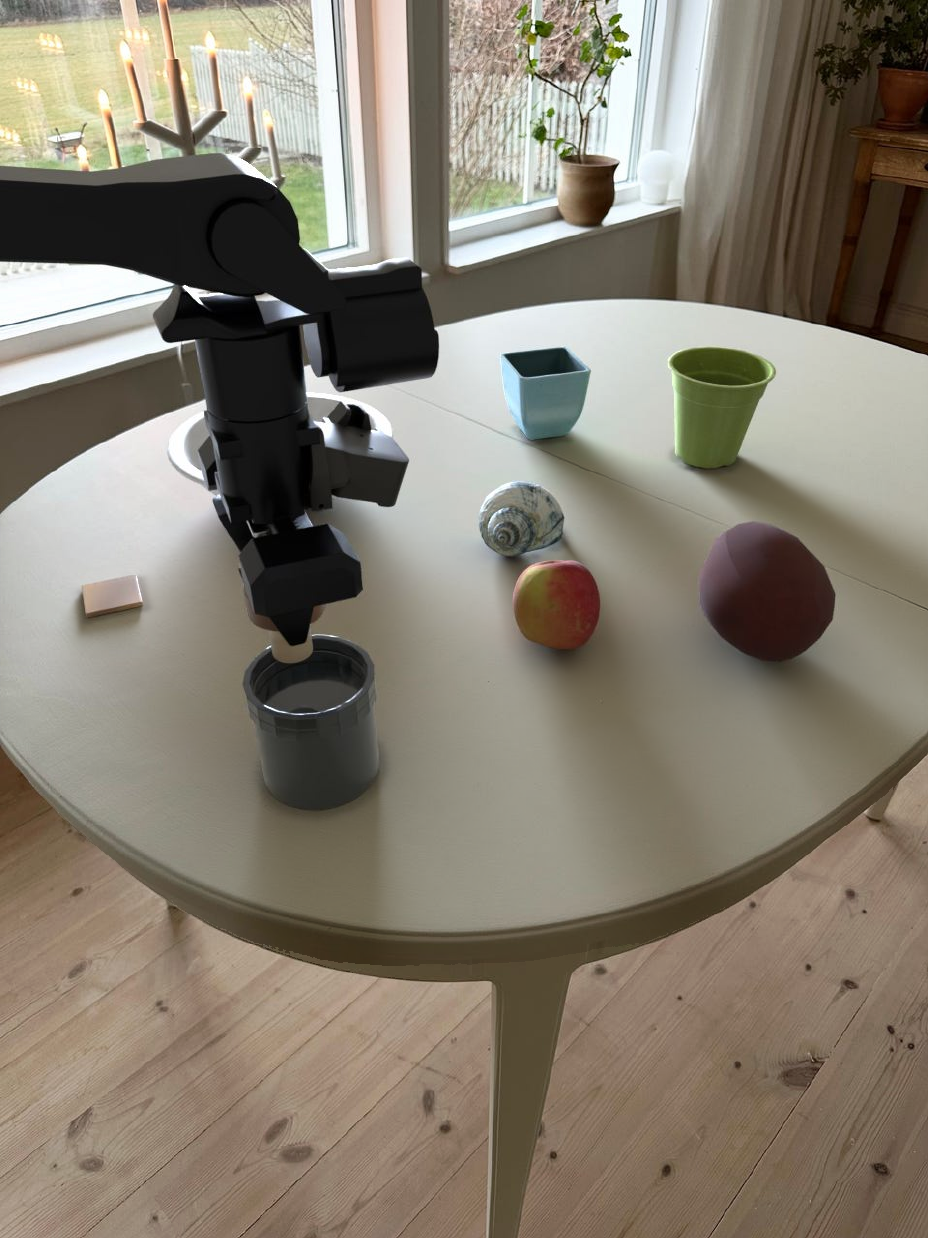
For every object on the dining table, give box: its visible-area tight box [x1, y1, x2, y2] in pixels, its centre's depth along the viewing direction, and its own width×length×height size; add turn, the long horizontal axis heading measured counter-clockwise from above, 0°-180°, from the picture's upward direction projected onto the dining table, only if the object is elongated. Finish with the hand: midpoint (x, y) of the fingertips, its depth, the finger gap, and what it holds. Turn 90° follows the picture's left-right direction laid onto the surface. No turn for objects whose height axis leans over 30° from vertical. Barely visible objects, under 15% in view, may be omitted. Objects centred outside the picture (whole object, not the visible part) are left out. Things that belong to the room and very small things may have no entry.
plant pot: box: [667, 346, 777, 469], centre depth 106 cm, size 12×12×11 cm
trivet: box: [81, 573, 144, 619], centre depth 87 cm, size 5×5×1 cm
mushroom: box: [242, 585, 327, 663], centre depth 62 cm, size 5×5×6 cm
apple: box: [512, 559, 601, 650], centre depth 79 cm, size 8×8×8 cm
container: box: [242, 634, 380, 811], centre depth 66 cm, size 9×9×9 cm
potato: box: [698, 520, 837, 663], centre depth 78 cm, size 11×13×10 cm
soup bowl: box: [166, 392, 394, 500], centre depth 101 cm, size 24×24×7 cm
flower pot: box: [499, 346, 592, 440], centre depth 113 cm, size 9×9×9 cm
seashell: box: [478, 480, 565, 557], centre depth 92 cm, size 6×8×12 cm
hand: (288, 620), depth 62 cm, fingers closed on mushroom, 5 cm apart
